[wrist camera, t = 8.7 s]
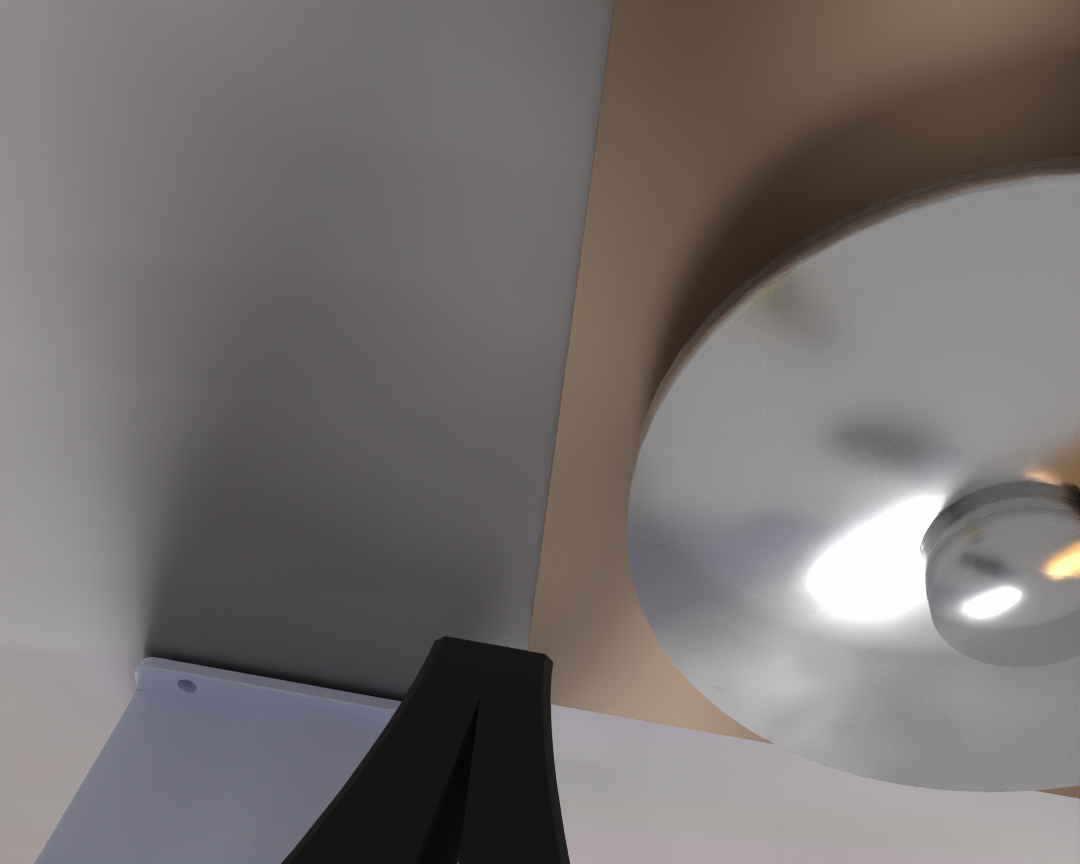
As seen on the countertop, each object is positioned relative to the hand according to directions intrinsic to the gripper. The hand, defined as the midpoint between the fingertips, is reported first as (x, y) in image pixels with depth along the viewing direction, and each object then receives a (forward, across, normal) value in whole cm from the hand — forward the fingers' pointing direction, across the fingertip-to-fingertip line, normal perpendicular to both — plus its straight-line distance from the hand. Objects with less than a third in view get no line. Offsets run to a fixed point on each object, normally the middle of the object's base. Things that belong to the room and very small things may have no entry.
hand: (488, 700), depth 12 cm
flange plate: (+7, -8, +1) cm, 11 cm away
